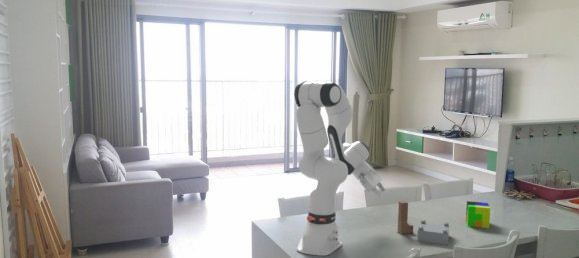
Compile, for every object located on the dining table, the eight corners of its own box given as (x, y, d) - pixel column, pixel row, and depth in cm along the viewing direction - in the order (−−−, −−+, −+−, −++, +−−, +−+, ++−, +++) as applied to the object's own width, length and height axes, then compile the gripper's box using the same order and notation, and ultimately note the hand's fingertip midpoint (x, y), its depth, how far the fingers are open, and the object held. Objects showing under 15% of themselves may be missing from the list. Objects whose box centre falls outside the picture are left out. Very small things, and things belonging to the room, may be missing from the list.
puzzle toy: (486, 221, 246) (487, 202, 244) (489, 228, 236) (490, 208, 235) (465, 220, 248) (466, 201, 247) (467, 226, 239) (468, 206, 237)
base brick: (447, 244, 213) (448, 231, 212) (417, 240, 217) (417, 227, 216) (448, 235, 225) (449, 222, 224) (420, 231, 229) (420, 219, 228)
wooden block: (400, 234, 226) (402, 203, 224) (397, 231, 229) (398, 201, 227) (413, 233, 228) (414, 202, 226) (409, 230, 231) (411, 200, 229)
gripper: (362, 171, 222) (383, 194, 219) (371, 163, 241) (390, 184, 238) (353, 180, 224) (373, 203, 222) (362, 171, 243) (381, 192, 241)
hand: (382, 193), depth 230 cm, fingers open, 8 cm apart
